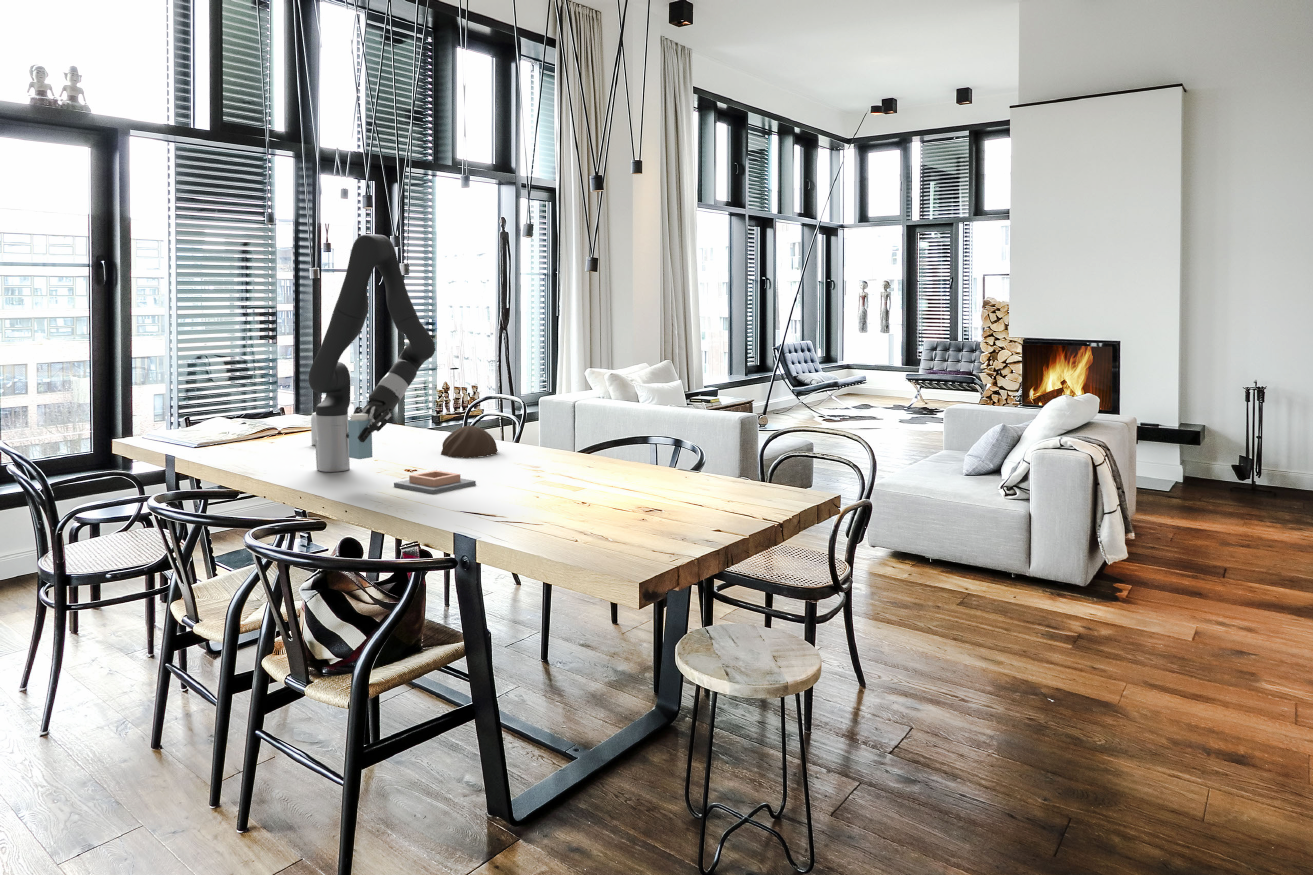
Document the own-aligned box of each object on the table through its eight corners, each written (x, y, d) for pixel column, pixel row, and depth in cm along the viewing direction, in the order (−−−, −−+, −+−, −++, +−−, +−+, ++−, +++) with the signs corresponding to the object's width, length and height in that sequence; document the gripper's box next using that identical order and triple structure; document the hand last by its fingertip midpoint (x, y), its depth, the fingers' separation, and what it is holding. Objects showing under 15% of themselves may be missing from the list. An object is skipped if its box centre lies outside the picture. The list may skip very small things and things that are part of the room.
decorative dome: (510, 453, 314) (509, 424, 313) (468, 460, 298) (467, 430, 297) (471, 447, 325) (470, 420, 324) (428, 454, 309) (428, 425, 308)
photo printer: (339, 442, 331) (338, 409, 329) (342, 443, 328) (341, 410, 326) (310, 444, 326) (309, 410, 324) (313, 445, 322) (311, 411, 320)
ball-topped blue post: (349, 457, 248) (347, 414, 246) (362, 455, 252) (361, 413, 250) (359, 459, 246) (358, 416, 244) (372, 457, 249) (371, 414, 248)
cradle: (394, 486, 253) (393, 475, 252) (437, 478, 266) (436, 467, 266) (433, 494, 244) (432, 482, 244) (475, 484, 257) (475, 473, 257)
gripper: (364, 382, 256) (329, 428, 248) (398, 385, 248) (363, 433, 240) (379, 399, 261) (346, 445, 253) (413, 403, 253) (379, 450, 245)
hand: (354, 439), depth 246 cm, fingers closed on ball-topped blue post, 4 cm apart
